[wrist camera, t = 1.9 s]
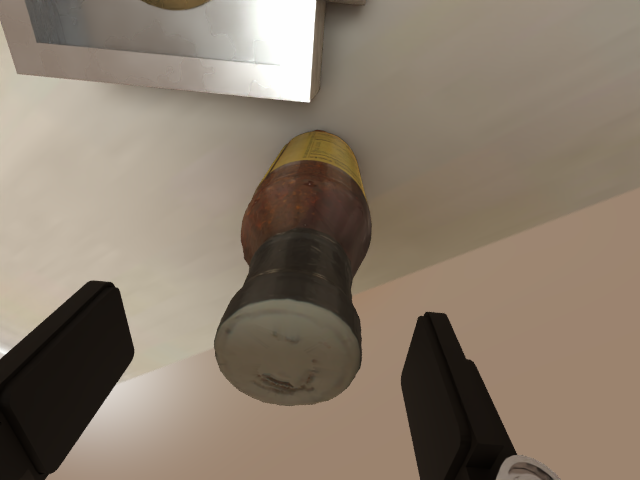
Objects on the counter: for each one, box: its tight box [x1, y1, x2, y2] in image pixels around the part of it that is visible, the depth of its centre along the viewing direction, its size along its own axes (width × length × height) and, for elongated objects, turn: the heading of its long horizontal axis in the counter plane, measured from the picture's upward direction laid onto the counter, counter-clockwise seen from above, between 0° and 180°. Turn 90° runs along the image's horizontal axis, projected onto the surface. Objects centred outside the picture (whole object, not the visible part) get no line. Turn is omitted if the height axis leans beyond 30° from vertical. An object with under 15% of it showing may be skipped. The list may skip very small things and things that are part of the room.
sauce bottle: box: [214, 130, 372, 406], centre depth 18 cm, size 6×6×20 cm
